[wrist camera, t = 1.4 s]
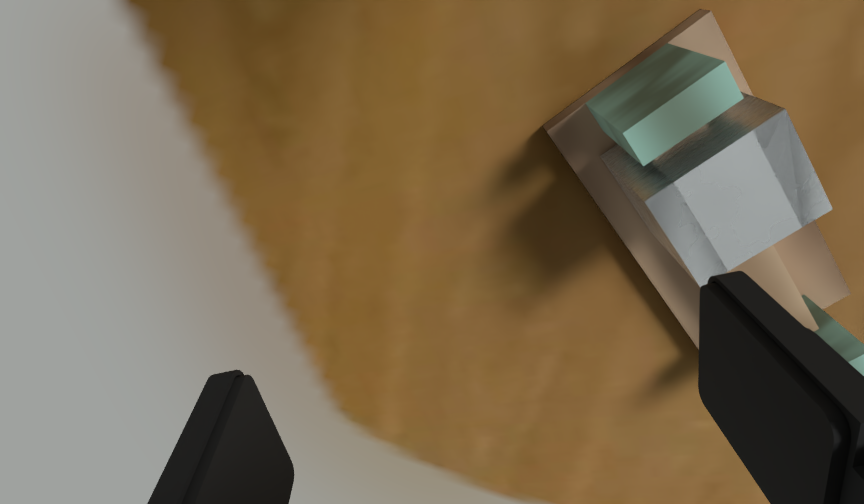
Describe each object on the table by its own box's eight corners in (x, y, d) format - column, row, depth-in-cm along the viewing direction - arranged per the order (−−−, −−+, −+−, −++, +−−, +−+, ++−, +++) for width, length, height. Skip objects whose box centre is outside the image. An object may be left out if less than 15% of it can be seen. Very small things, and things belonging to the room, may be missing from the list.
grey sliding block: (710, 79, 30) (785, 108, 24) (754, 163, 32) (832, 209, 26) (599, 156, 31) (644, 201, 25) (649, 230, 34) (700, 287, 28)
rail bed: (700, 9, 29) (780, 22, 23) (838, 284, 38) (925, 349, 31) (542, 125, 32) (575, 166, 26) (704, 358, 40) (760, 433, 34)
